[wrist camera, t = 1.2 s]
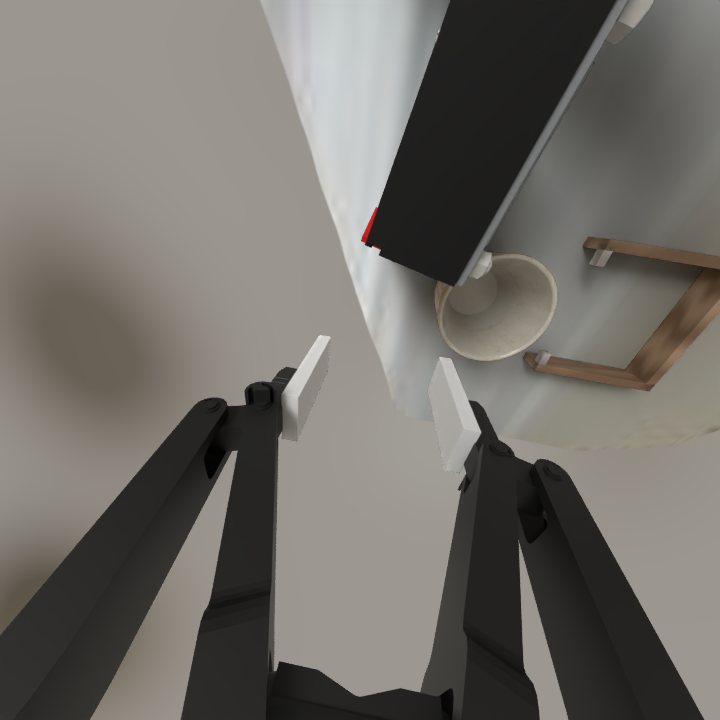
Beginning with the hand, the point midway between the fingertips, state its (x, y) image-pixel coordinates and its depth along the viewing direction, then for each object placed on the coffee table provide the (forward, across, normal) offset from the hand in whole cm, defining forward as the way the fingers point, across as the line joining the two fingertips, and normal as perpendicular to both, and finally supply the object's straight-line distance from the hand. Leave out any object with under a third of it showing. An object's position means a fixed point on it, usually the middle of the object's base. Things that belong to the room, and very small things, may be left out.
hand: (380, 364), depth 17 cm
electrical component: (+25, +4, +14) cm, 29 cm away
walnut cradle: (+25, +32, +1) cm, 41 cm away
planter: (+25, +12, +1) cm, 28 cm away
